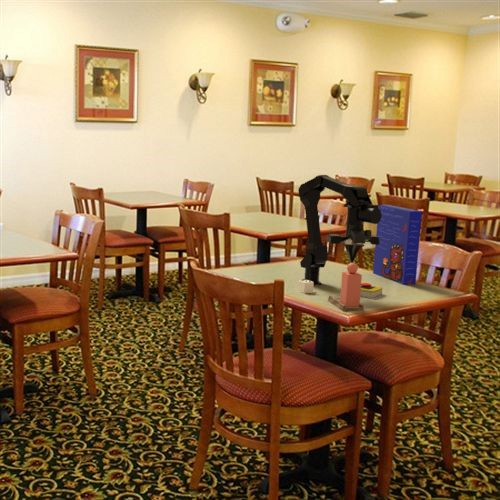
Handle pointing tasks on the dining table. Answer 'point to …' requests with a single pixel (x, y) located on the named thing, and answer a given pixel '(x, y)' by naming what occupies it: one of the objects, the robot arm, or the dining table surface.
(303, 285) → the die
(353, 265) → the pawn
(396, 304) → the dining table surface
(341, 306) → the track
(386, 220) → the cereal box
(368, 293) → the emergency button
